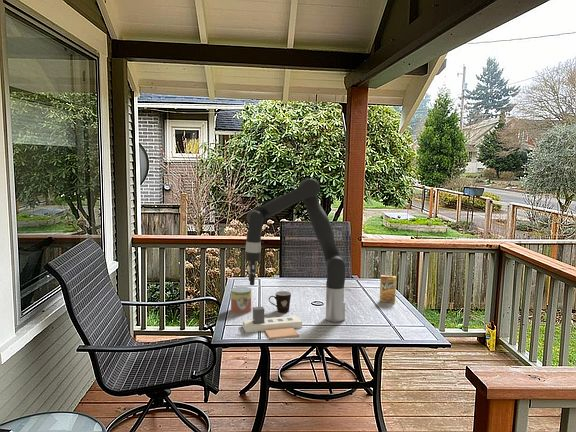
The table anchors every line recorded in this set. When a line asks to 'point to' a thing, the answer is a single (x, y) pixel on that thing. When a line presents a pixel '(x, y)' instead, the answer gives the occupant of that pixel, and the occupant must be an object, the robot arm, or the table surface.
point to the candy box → (387, 288)
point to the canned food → (241, 300)
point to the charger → (258, 315)
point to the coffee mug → (282, 301)
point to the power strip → (273, 323)
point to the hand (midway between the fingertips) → (251, 282)
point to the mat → (281, 333)
